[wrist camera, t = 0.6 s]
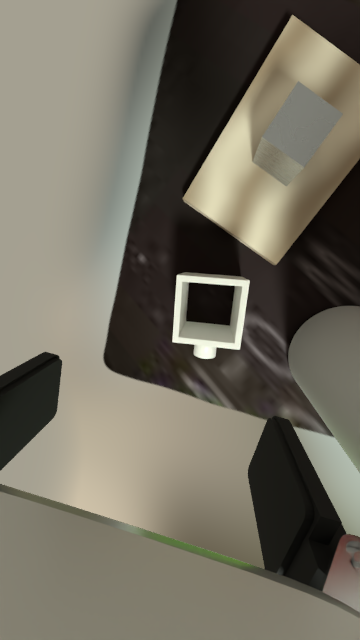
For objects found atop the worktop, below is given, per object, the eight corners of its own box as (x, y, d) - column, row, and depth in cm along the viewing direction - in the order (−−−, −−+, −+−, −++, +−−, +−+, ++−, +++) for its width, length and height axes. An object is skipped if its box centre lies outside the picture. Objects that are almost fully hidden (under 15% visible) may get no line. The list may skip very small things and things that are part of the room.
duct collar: (241, 276, 29) (249, 280, 22) (231, 351, 31) (235, 376, 24) (185, 272, 29) (176, 274, 23) (179, 345, 32) (170, 367, 25)
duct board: (393, 109, 23) (406, 99, 21) (272, 264, 28) (276, 264, 26) (287, 30, 22) (292, 14, 21) (184, 201, 27) (182, 198, 26)
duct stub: (316, 144, 23) (343, 113, 18) (286, 186, 24) (304, 167, 20) (280, 119, 23) (298, 81, 18) (252, 162, 24) (261, 136, 19)
